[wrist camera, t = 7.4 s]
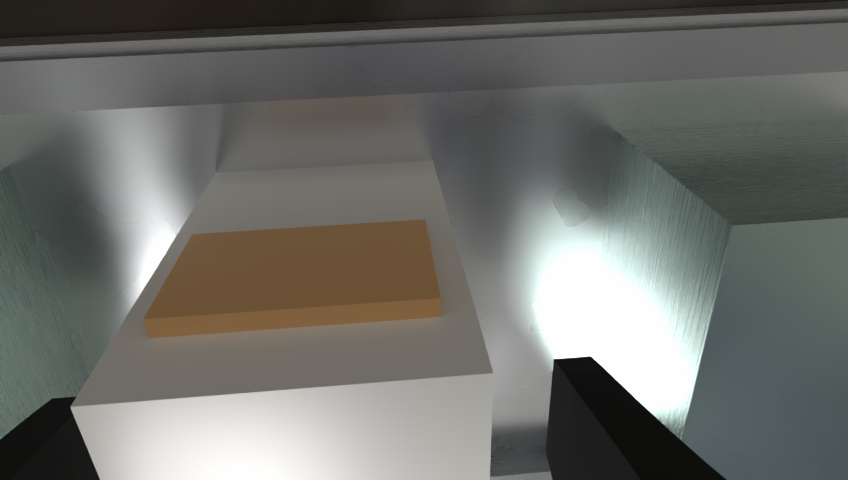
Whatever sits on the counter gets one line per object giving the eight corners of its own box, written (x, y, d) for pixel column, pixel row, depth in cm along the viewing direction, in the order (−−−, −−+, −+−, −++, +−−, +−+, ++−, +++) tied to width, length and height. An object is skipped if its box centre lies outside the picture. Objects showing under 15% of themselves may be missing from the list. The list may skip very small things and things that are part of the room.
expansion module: (432, 147, 11) (495, 352, 6) (439, 433, 14) (481, 729, 9) (212, 160, 11) (61, 386, 5) (272, 447, 14) (215, 759, 9)
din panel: (888, -1, 11) (1218, 43, 7) (755, 421, 17) (896, 600, 12) (-339, 53, 10) (-894, 150, 6) (-68, 494, 15) (-245, 725, 11)
